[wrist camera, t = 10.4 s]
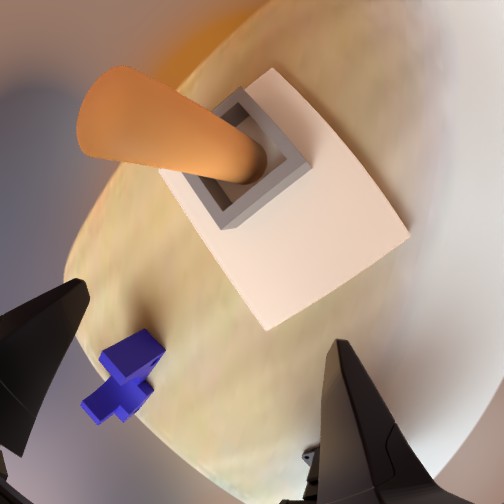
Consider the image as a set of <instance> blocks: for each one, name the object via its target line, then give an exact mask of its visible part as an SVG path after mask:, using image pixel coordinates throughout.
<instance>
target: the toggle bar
mask: <svg viewBox="0 0 504 504" xmlns="http://www.w3.org/2000/svg"><path fill="white" fill-rule="evenodd" d="M77 139H78V143H79V146H80V148H81V149H82V151H83V152H84V153H85V154H86V155H87V156H89V157H92V158H100V159H107V160H114V161H121V162H127V163H134V164H140V165H146V166H152V167H157V168H163V169H168V170H174V171H179V172H184V173H189V174H194V175H199V176H204V177H209V178H214V179H219V180H223V181H228V182H232V183H237V184H241V185H247V184H251V183H254V182H256V181H257V180H258V179H260V178H261V177H262V175H263V174H264V172H265V170H266V167H267V154H266V152H265V150H264V148H263V147H262V146H261V145H260V144H259V143H257V142H256V141H254V140H253V139H251V138H250V137H249V136H247V135H246V134H244V133H243V132H241V131H240V130H238V129H237V128H235V127H233V126H232V125H230V124H229V123H227V122H226V121H224V120H223V119H221V118H219V117H218V116H216V115H215V114H213V113H211V112H210V111H208V110H207V109H205V108H203V107H202V106H200V105H198V104H197V103H195V102H193V101H192V100H190V99H188V98H187V97H185V96H183V95H181V94H180V93H178V92H176V91H174V90H173V89H171V88H169V87H167V86H165V85H164V84H162V83H160V82H158V81H156V80H154V79H153V78H151V77H149V76H147V75H145V74H143V73H141V72H139V71H137V70H135V69H133V68H131V67H129V66H117V67H114V68H112V69H110V70H109V71H107V72H105V73H104V74H103V75H102V76H101V77H100V78H98V79H97V80H96V82H95V83H94V84H93V85H92V87H91V88H90V89H89V91H88V93H87V95H86V96H85V98H84V101H83V103H82V105H81V108H80V111H79V115H78V120H77Z"/></svg>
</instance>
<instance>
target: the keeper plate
mask: <svg viewBox="0 0 504 504" xmlns="http://www.w3.org/2000/svg"><path fill="white" fill-rule="evenodd" d="M211 113H213V114H215V115H216V116H218V117H219V118H221V119H223V120H224V121H226V122H227V123H229V124H230V125H232V126H233V127H235V128H237V129H238V130H240V131H241V132H243V133H244V134H246V135H247V136H249V137H250V138H251V139H253V140H254V141H256V142H257V143H259V144H260V145H261V146H262V147H263V148H264V150H265V152H266V154H267V167H266V170H265V172H264V174H263V175H262V177H261V178H260V179H258V180H257V181H256V182H254V183H251V184H247V185H241V184H237V183H232V182H228V181H223V180H219V179H214V178H209V177H204V176H199V175H194V174H189V173H184V172H179V171H174V170H168V169H163V168H160V169H159V170H158V172H159V173H160V175H161V176H162V178H163V179H164V181H165V183H166V184H167V186H168V187H169V189H170V190H171V192H172V194H173V195H174V197H175V198H176V200H177V201H178V203H179V205H180V206H181V208H182V209H183V211H184V212H185V214H186V215H187V217H188V218H189V220H190V221H191V223H192V224H193V226H194V228H195V229H196V231H197V232H198V234H199V235H200V237H201V238H202V240H203V241H204V243H205V244H206V246H207V247H208V249H209V250H210V252H211V253H212V255H213V256H214V258H215V259H216V261H217V262H218V263H219V265H220V266H221V268H222V269H223V271H224V272H225V274H226V275H227V277H228V278H229V280H230V281H231V283H232V284H233V285H234V287H235V288H236V290H237V291H238V293H239V294H240V296H241V297H242V298H243V300H244V301H245V303H246V304H247V306H248V307H249V308H250V310H251V311H252V313H253V314H254V316H255V317H256V318H257V320H258V321H259V323H260V324H261V325H262V327H263V328H264V330H265V331H268V330H270V329H271V328H273V327H275V326H276V325H278V324H280V323H282V322H283V321H285V320H287V319H288V318H290V317H292V316H293V315H295V314H297V313H298V312H300V311H301V310H303V309H305V308H306V307H308V306H310V305H311V304H313V303H314V302H316V301H318V300H319V299H321V298H322V297H324V296H325V295H327V294H329V293H330V292H332V291H333V290H335V289H336V288H338V287H339V286H341V285H342V284H344V283H345V282H347V281H348V280H350V279H351V278H353V277H354V276H356V275H357V274H359V273H360V272H362V271H363V270H365V269H366V268H368V267H369V266H371V265H372V264H373V263H375V262H376V261H378V260H379V259H381V258H382V257H383V256H385V255H386V254H388V253H389V252H390V251H392V250H393V249H394V248H396V247H397V246H399V245H400V244H401V243H403V242H404V241H405V240H407V239H408V238H409V237H411V235H410V234H409V232H408V230H407V229H406V227H405V226H404V224H403V222H402V221H401V219H400V218H399V216H398V215H397V213H396V212H395V210H394V209H393V207H392V206H391V204H390V203H389V201H388V200H387V199H386V197H385V196H384V194H383V193H382V191H381V190H380V189H379V187H378V186H377V185H376V183H375V182H374V180H373V179H372V178H371V176H370V175H369V174H368V172H367V171H366V170H365V168H364V167H363V166H362V165H361V163H360V162H359V161H358V159H357V158H356V157H355V156H354V154H353V153H352V152H351V151H350V149H349V148H348V147H347V146H346V145H345V143H344V142H343V141H342V140H341V139H340V137H339V136H338V135H337V134H336V133H335V132H334V130H333V129H332V128H331V127H330V126H329V125H328V124H327V122H326V121H325V120H324V119H323V118H322V117H321V116H320V115H319V114H318V112H317V111H316V110H315V109H314V108H313V107H312V106H311V105H310V104H309V103H308V102H307V101H306V100H305V99H304V98H303V97H302V96H301V95H300V94H299V93H298V92H297V91H296V90H295V89H294V88H293V87H292V86H291V85H290V84H289V83H288V82H287V81H286V80H285V79H284V78H283V77H282V76H281V75H280V74H279V73H278V72H277V71H276V70H275V69H274V68H273V67H272V68H271V69H269V70H268V71H267V72H266V73H264V74H263V75H262V76H260V77H259V78H258V79H257V80H255V81H254V82H253V83H252V84H250V85H249V86H248V87H247V88H245V89H243V88H242V87H241V86H240V87H239V88H238V89H237V90H236V91H234V92H233V93H232V94H231V95H230V96H229V97H227V98H226V99H225V100H224V101H223V102H222V103H221V104H219V105H218V106H217V107H216V108H215V109H214V110H213V111H212V112H211Z"/></svg>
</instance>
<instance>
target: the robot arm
mask: <svg viewBox="0 0 504 504" xmlns="http://www.w3.org/2000/svg"><path fill="white" fill-rule="evenodd" d="M89 302H90V295H89V292H88V289H87V285H86V282H85V281H84V280H81V279H78V278H74V279H72V280H70V281H68V282H66V283H64V284H62V285H60V286H58V287H56V288H54V289H52V290H50V291H48V292H46V293H44V294H42V295H40V296H38V297H36V298H34V299H32V300H30V301H28V302H26V303H24V304H22V305H20V306H18V307H16V308H15V309H13V310H11V311H9V312H7V313H5V314H4V315H1V316H0V445H2V446H4V447H5V448H6V449H8V450H10V451H11V452H13V453H14V454H16V455H17V456H19V457H22V455H23V453H24V449H25V447H26V444H27V441H28V438H29V435H30V433H31V430H32V428H33V425H34V422H35V420H36V417H37V414H38V412H39V409H40V407H41V405H42V402H43V400H44V398H45V396H46V393H47V391H48V388H49V386H50V384H51V382H52V380H53V378H54V375H55V374H56V372H57V370H58V367H59V365H60V363H61V361H62V359H63V357H64V355H65V353H66V351H67V350H68V348H69V346H70V344H71V342H72V340H73V338H74V336H75V334H76V332H77V330H78V327H79V325H80V322H81V320H82V318H83V316H84V313H85V311H86V309H87V307H88V304H89ZM302 459H303V460H304V461H305V462H306V463H307V464H308V465H309V466H310V470H309V473H308V477H307V486H306V489H305V492H304V495H303V499H304V500H282V501H281V502H280V503H279V504H474V503H472V502H469V501H467V500H465V499H462V498H460V497H458V496H456V495H453V494H451V493H449V492H447V491H445V490H444V489H442V488H441V487H440V486H438V485H437V484H436V483H435V482H434V480H433V479H432V478H431V476H430V475H429V473H428V472H427V470H426V469H425V468H424V466H423V465H422V463H421V462H420V460H419V459H418V458H417V456H416V455H415V453H414V452H413V450H412V449H411V447H410V446H409V444H408V443H407V441H406V439H405V437H404V436H403V434H402V432H401V431H400V429H399V427H398V425H397V424H396V423H395V420H394V418H393V416H392V415H391V413H390V411H389V409H388V408H387V406H386V404H385V402H384V401H383V399H382V397H381V395H380V394H379V392H378V390H377V389H376V387H375V385H374V383H373V382H372V380H371V378H370V377H369V375H368V373H367V371H366V370H365V368H364V366H363V365H362V363H361V361H360V360H359V358H358V356H357V355H356V353H355V351H354V350H353V348H352V346H351V345H350V343H349V342H348V341H347V340H344V339H335V340H334V342H333V344H332V346H331V348H330V350H329V352H328V354H327V357H326V364H325V374H324V382H323V390H322V400H321V442H320V448H316V449H313V450H310V451H307V452H304V453H303V454H302ZM7 477H8V474H7V470H6V467H5V463H4V459H3V454H2V451H1V450H0V504H33V503H32V502H31V501H29V500H28V499H27V498H25V497H24V496H23V495H21V494H20V493H19V492H18V491H17V490H15V489H14V488H13V487H12V486H10V485H9V484H8V483H7V482H6V480H7ZM502 504H504V503H502Z"/></svg>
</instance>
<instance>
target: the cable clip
mask: <svg viewBox="0 0 504 504" xmlns="http://www.w3.org/2000/svg"><path fill="white" fill-rule="evenodd" d="M165 351H166V350H165V349H164V348H163V347H162V346H161V345H160V344H159V343H158V342H157V341H156V340H155V339H154V338H153V337H152V336H151V335H150V333H149V332H148V331H147V330H146V329H143V330H141V331H139V332H137V333H135V334H133V335H131V336H130V337H128V338H126V339H124V340H122V341H120V342H118V343H116V344H115V345H113V346H111V347H109V348H107V349H105V350H103V351H102V353H101V355H100V358H99V361H100V362H101V364H102V365H103V366H104V367H105V368H106V370H107V371H108V372H109V373H110V374H111V376H110V377H109V379H108V380H107V381H106V382H105V383H104V384H103V385H102V386H101V387H99V388H98V389H97V390H96V391H95V392H94V393H92V394H91V395H90V396H88V397H87V398H86V399H84V400H83V401H82V403H81V406H82V408H83V409H84V410H85V412H86V413H87V414H88V415H89V416H90V417H91V418H92V420H93V421H94V422H95V423H96V424H97V425H99V424H101V423H102V422H103V421H105V420H106V419H108V418H109V417H110V416H112V415H113V414H114V413H115V415H116V416H117V417H119V419H120V420H121V421H122V422H125V421H126V420H127V419H129V418H130V417H131V416H132V415H133V414H135V413H136V412H137V411H138V410H139V409H140V407H141V406H142V405H143V404H144V403H145V401H146V400H147V399H148V398H149V396H150V395H151V394H152V393H153V391H154V389H153V388H152V387H151V386H150V385H149V384H148V383H147V382H146V381H145V379H146V378H147V376H148V375H149V374H150V372H151V371H152V369H153V368H154V367H155V365H156V364H157V362H158V361H159V360H160V358H161V357H162V355H163V354H164V353H165Z"/></svg>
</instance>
